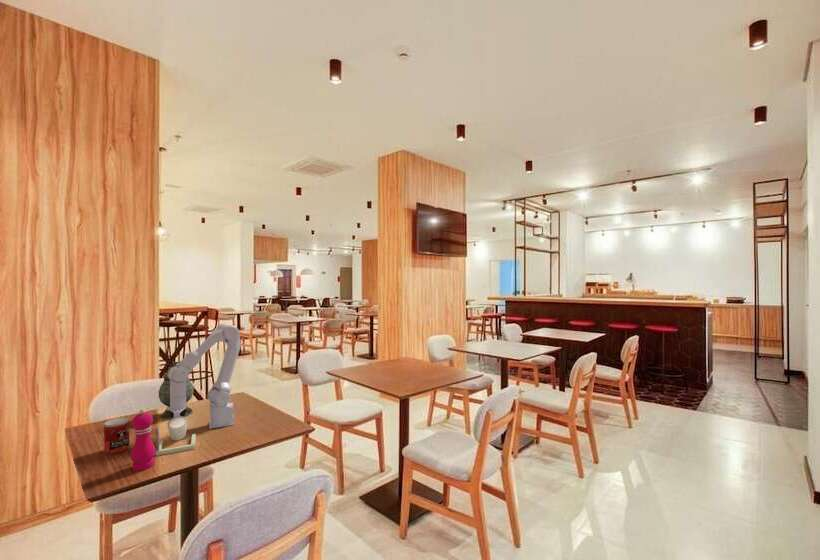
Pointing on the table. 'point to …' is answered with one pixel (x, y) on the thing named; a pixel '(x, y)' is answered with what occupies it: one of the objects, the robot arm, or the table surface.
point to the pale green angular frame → (171, 450)
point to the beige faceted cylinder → (177, 427)
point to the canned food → (116, 435)
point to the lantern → (165, 395)
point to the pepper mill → (142, 442)
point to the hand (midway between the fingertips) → (178, 428)
